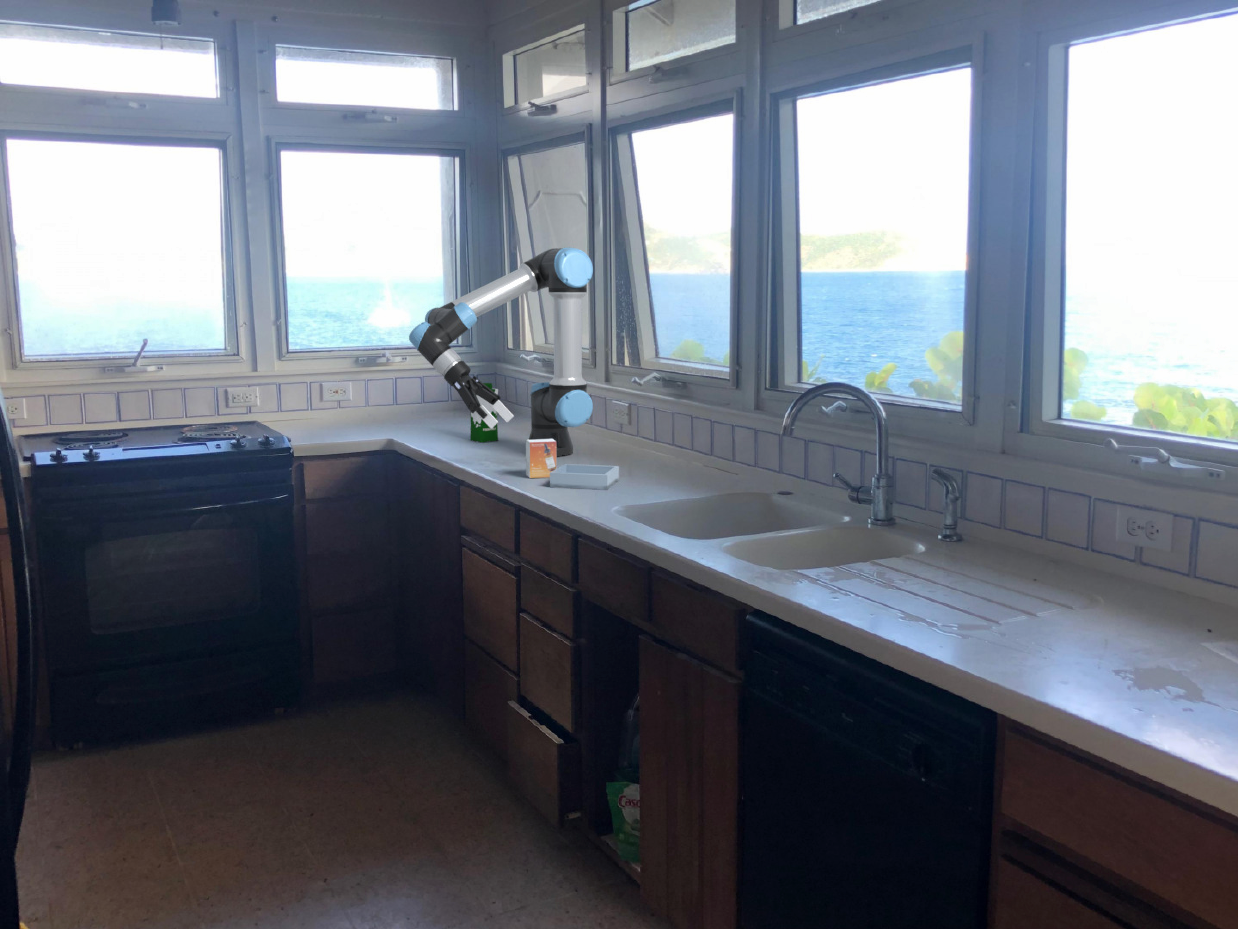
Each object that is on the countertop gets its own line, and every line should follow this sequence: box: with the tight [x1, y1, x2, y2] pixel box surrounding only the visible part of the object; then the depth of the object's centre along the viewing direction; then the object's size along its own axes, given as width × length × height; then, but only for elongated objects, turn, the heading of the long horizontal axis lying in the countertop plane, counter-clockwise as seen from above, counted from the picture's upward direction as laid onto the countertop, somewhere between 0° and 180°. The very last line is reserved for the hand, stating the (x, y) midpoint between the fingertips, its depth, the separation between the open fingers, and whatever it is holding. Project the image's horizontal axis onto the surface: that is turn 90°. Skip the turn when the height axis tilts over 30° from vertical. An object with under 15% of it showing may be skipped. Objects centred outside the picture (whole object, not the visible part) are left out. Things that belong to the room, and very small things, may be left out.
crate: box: [549, 463, 620, 491], centre depth 298 cm, size 14×16×4 cm
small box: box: [525, 439, 558, 479], centre depth 308 cm, size 8×6×10 cm
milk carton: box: [469, 382, 499, 443], centre depth 373 cm, size 9×9×20 cm
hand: (503, 422), depth 309 cm, fingers open, 13 cm apart
